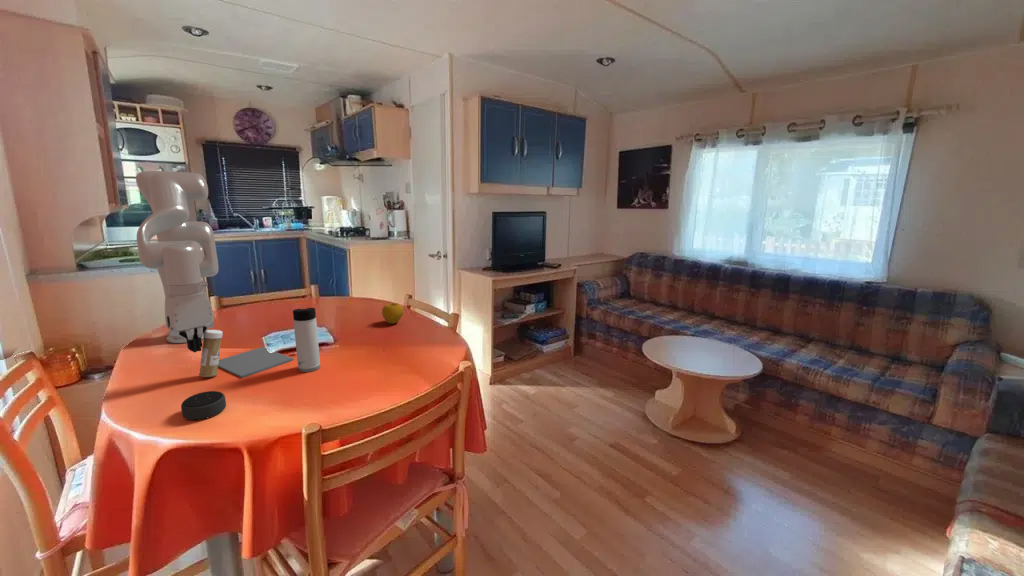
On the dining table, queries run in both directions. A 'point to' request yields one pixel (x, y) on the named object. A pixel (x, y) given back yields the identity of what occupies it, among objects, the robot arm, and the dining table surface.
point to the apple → (392, 312)
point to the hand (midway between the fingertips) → (195, 350)
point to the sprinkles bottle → (210, 353)
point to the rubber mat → (252, 362)
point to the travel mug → (306, 339)
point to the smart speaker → (203, 405)
